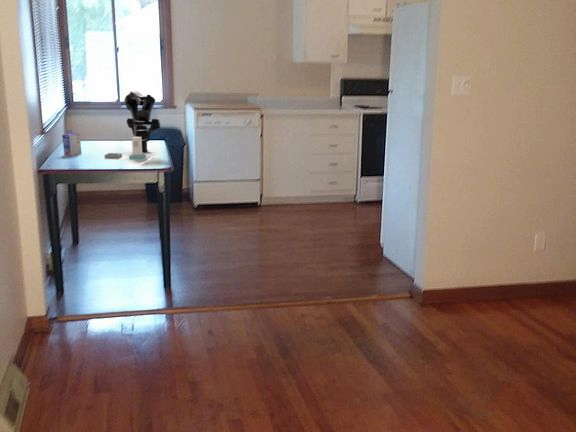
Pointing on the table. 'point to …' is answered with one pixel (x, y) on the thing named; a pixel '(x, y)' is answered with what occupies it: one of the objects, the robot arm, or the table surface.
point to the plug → (137, 146)
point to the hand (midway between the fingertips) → (141, 134)
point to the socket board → (124, 157)
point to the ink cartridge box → (71, 143)
